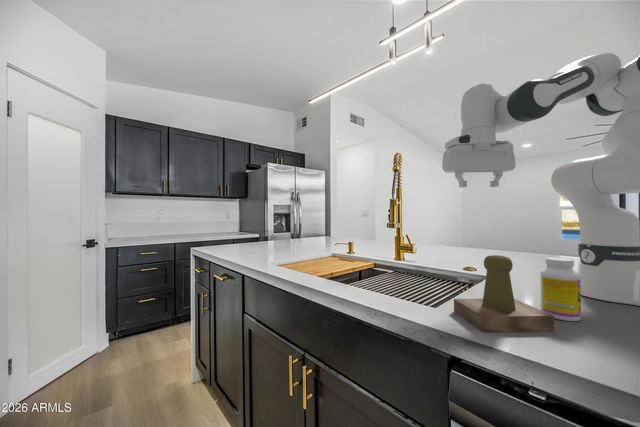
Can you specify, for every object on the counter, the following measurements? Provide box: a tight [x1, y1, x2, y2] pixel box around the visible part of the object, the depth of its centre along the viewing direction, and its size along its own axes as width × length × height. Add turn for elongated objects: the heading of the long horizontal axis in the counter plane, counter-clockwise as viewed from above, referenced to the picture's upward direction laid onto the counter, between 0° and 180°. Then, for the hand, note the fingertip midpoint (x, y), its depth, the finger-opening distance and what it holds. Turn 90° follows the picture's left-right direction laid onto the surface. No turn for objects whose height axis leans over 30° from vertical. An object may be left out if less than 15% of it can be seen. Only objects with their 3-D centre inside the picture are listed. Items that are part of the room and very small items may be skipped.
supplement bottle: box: [540, 257, 582, 322], centre depth 59 cm, size 7×7×13 cm
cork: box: [482, 254, 516, 312], centre depth 57 cm, size 6×6×11 cm
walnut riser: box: [453, 298, 555, 333], centre depth 57 cm, size 14×11×3 cm
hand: (478, 187), depth 78 cm, fingers open, 8 cm apart
